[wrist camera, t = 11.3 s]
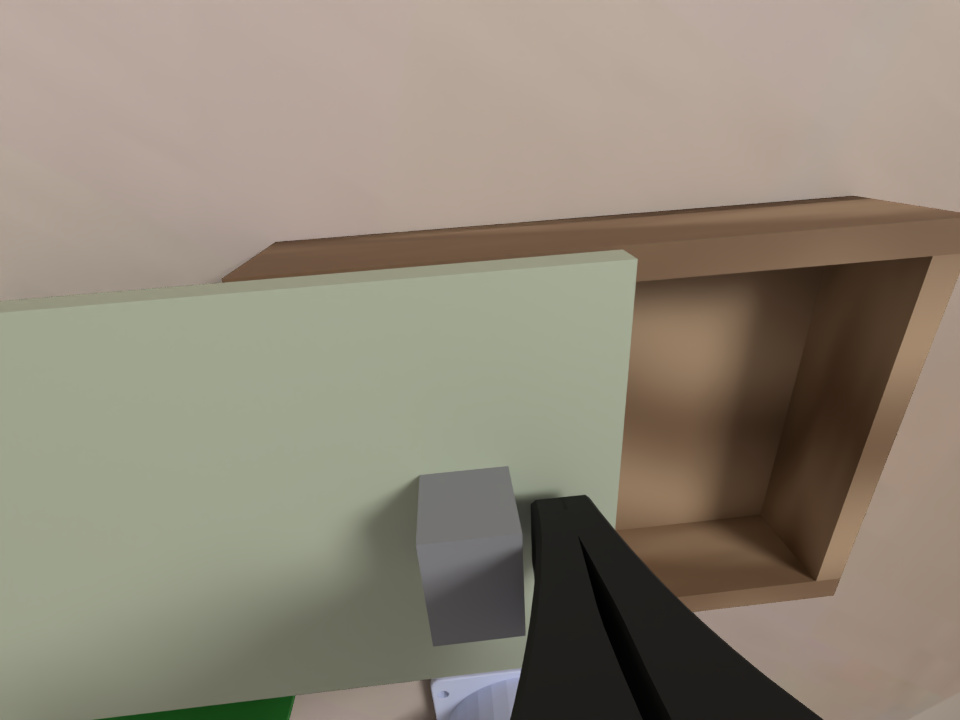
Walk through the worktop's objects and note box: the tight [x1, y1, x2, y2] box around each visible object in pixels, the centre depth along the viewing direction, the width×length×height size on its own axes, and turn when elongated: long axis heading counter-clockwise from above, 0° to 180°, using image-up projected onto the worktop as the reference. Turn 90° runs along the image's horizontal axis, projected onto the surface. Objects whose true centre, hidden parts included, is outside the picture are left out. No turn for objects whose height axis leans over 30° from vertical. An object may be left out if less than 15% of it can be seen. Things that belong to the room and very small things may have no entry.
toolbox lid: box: [0, 249, 638, 720], centre depth 12 cm, size 12×18×6 cm, turn 94°
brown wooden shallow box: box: [222, 196, 960, 612], centre depth 14 cm, size 12×16×4 cm
